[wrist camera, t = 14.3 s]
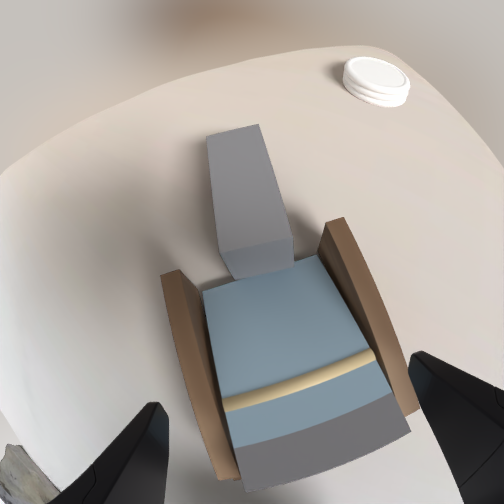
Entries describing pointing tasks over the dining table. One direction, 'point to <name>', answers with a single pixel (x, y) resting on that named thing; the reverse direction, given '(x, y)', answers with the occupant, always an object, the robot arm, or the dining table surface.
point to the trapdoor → (296, 376)
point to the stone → (248, 204)
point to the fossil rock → (23, 479)
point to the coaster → (376, 81)
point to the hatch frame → (202, 360)
